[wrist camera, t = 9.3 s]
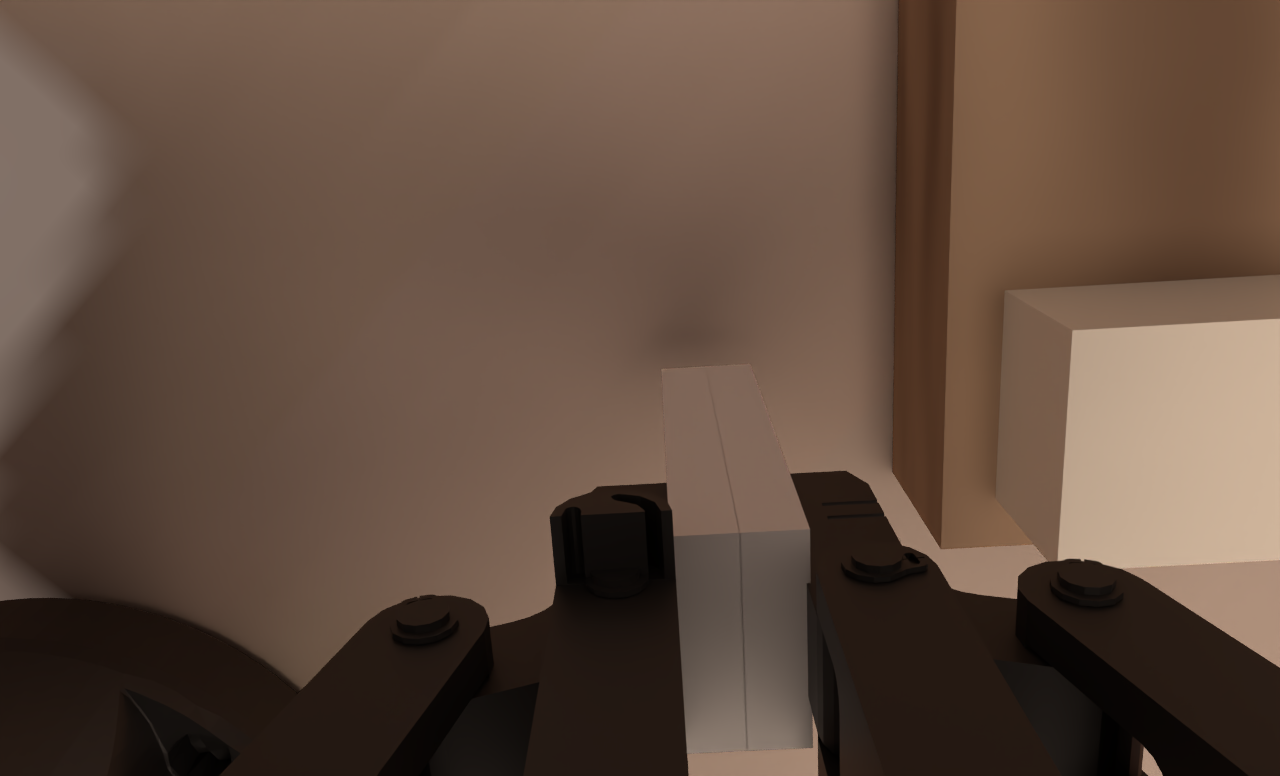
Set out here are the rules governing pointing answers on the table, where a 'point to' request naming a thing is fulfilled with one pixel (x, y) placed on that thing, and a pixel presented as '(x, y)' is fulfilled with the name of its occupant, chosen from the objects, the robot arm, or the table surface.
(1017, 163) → the board
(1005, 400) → the beige block
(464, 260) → the table surface
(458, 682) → the robot arm
